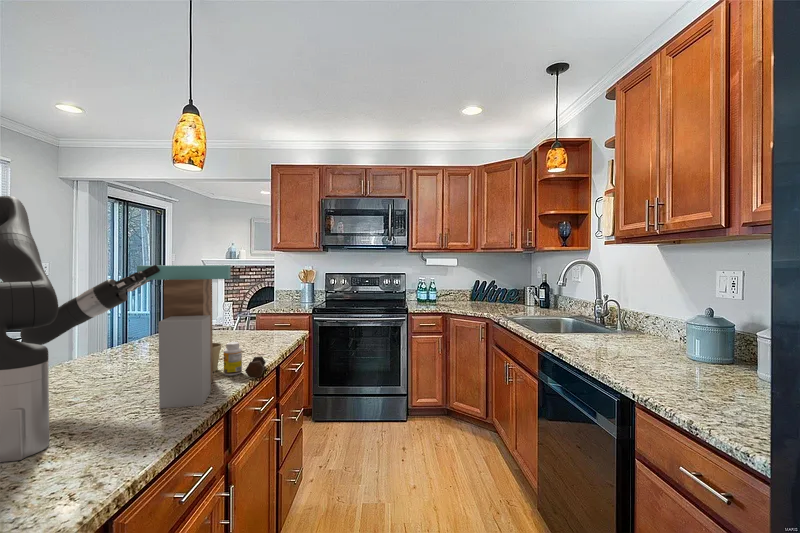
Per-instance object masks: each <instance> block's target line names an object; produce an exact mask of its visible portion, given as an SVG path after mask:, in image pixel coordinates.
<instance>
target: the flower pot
mask: <svg viewBox="0 0 800 533" xmlns="http://www.w3.org/2000/svg"><path fill="white" fill-rule="evenodd" d="M222 346H223V343H220V342H212V347H213V373H214V372H216V371H217V370H218V367H219V361H220V353H221V350H222Z"/></svg>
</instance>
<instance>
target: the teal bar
mask: <svg viewBox="0 0 800 533" xmlns="http://www.w3.org/2000/svg"><path fill="white" fill-rule="evenodd" d="M156 265H157V266H158V268H159V269H160V271H159V272H158V273H156V274H154V275H152V276H150V277H148V278H147V279H146V280H150V281H154V280H155V281H157V280H159V281H162V280H163V281H164V280H175V279H212V280H230V279H231V278H232V277H231V276H232V275H231V265H230V264H229V265H226V264H225V265H223V264H220V265H218V264H215V265H205V264H204V265H203V264H202V265H201V264H200V265H199V264H197V265H194V264H193V265H192V264H191V265H187V264H186V265H183V264H182V265H180V264H179V265H163V264H159V265H158V264H156ZM151 266H153V265H146V264H145V265H143V264H142V265H136V272H139V271H144V270H146V269H148V268H149V267H151Z"/></svg>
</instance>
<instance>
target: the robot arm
mask: <svg viewBox="0 0 800 533" xmlns="http://www.w3.org/2000/svg"><path fill="white" fill-rule="evenodd" d="M40 255H41V254H40V252H39V248H38V246H37V244H36V242H35V239H34V237H33V234H32V232H31V228H30V221H29V215H28V213H27V210H26V208H25V206H24V204H23V203H22V201H21V200H20V199H19V198H17V197H15V196H14V195H13V196H12V195H0V280H1V281H2V282H0V463H3V462H15V461H16V462H17V461H21V460H24V459H26V458H27V457H29V456H33V455H35V454H37V453H39V452H42V451H44V450H46V449H47V448H48V447H49V446H50V441H51V440H50V392H49V390H50V386H49V385H50V384H49V383H50V382H49V381H50V380H49V379H50V378H49V377H50V375H49V374H50V373H49V349H48V347H47V346H45V344H48V343H50V342H51V341H53V340H55V339H57V338H58V337H60V336H61V335H63V334H65V333H66V332H68V331H70V330H72V329H73V328H75V327H77V326H79V325H81V324H83V323H86V322H88V321H90V320H91V319H93V318H95V317H97V316H100V315H102V314H105V313H107V312H108V311H110V310H112V309H114V308H116V307H117V306H119V305H121V304H124V303H125V302H126V301H127V300H128V295H127V293H129V292H134V291H136V290H137V289H138V288H141V287H142V286H144V285H145V284H147V283H148V282H151V280H146V279H147V278H148V277H150V276H152V275H154V274H156V273H158V272H159V271H160V269H159V268H158V266H157V265H158V264H154V265H153V266H151V267H149V268H148V269H146V270H144V271H139V272H137V271H136V272H134V273H132V274H130V275H128V276H126V277H123V278H121V279H119V280H116V279H112V278H109V279H107V280H105V281H102V282H101V283H99V284H97V285H95V286H93V287H91V288H89V289H87V290H86V291H84V292H82V293H80V295H78V296H76V297H73V298H71V299H70V300H68V301H66V302H65V303H64V302H63V304H61V305H60V306H59V299H58V297H57V293H56V290H55V288H54V286H53V284H52V283H51V280H50V279H49V277H48V275H47V273H46V272H45V270H44V267H43V264H42V260H41V256H40ZM10 330H11V331H12V330H20V339H21V341H19V340H17V339H14V338H11V337H10V336H8V334H7V332H8V331H10Z"/></svg>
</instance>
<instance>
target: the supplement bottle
mask: <svg viewBox="0 0 800 533" xmlns="http://www.w3.org/2000/svg"><path fill="white" fill-rule="evenodd" d="M225 345H226V346H225V349H224V350H223V374H224V375H225V376H231V377H233V376H238V375H240V374H241V373H242V372H243V369H242V368H243V359H242V358H243V355H242V353H243V350H242V348H241V347H240V342H238V341H231V342H226V343H225Z"/></svg>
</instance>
